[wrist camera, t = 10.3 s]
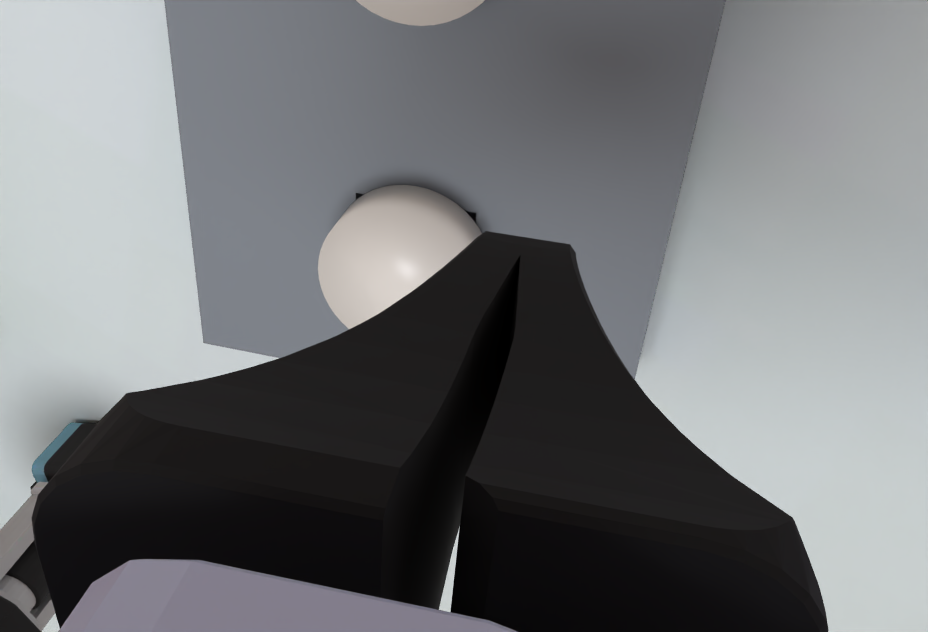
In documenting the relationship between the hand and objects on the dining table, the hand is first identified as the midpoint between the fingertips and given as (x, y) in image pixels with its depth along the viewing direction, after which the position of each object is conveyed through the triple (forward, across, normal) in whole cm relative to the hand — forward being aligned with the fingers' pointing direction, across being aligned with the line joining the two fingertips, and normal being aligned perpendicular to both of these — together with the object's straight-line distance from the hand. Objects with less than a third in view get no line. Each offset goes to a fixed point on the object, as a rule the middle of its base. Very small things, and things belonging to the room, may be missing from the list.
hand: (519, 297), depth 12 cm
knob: (+9, +3, +4) cm, 11 cm away
